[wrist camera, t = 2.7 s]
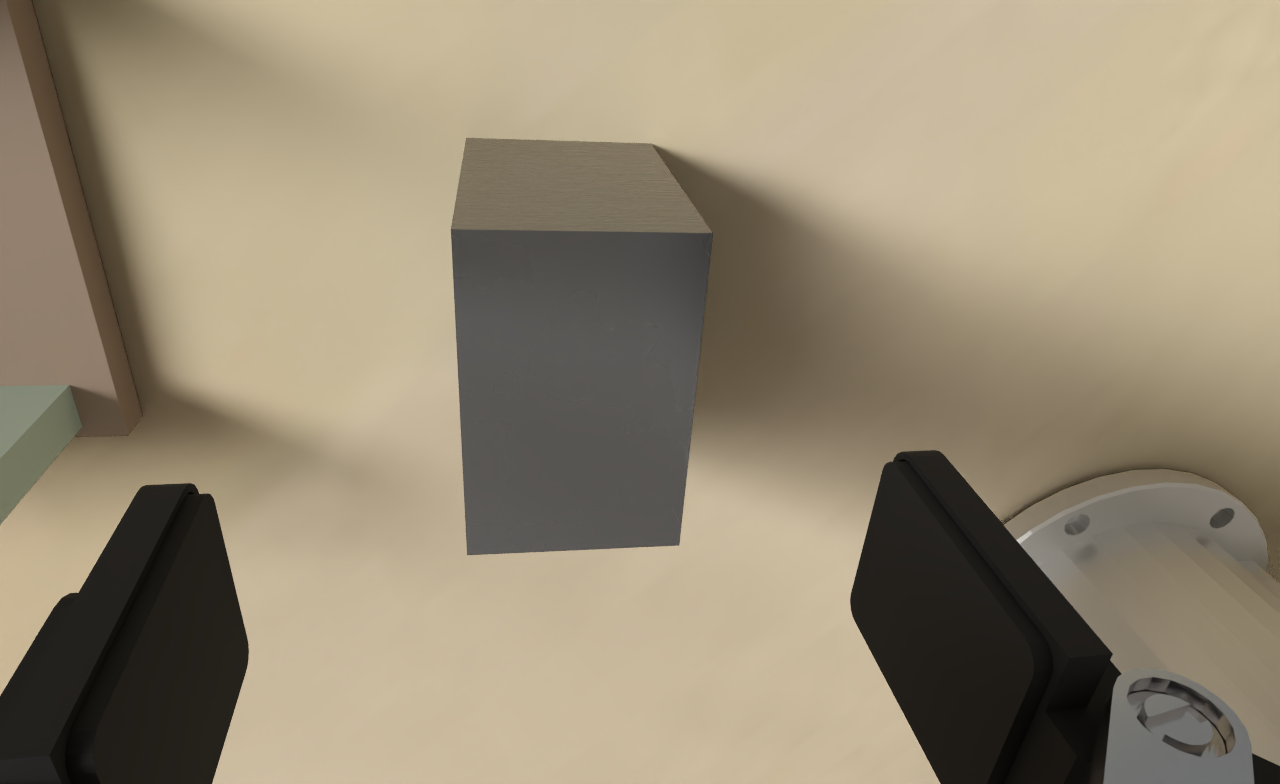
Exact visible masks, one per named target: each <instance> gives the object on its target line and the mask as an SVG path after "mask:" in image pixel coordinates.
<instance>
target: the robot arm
mask: <svg viewBox="0 0 1280 784" xmlns="http://www.w3.org/2000/svg"><path fill="white" fill-rule="evenodd" d="M1267 566H1268V551H1267V541H1266V537H1265V535H1264V532H1263V530H1262V528H1261V525H1260V523H1259V521H1258V519H1257V518H1256V517H1255V516H1254V514H1253V513H1252V512H1251V511H1250V510H1249V509H1248V508H1247V507H1246V506H1245V505H1244V504H1243V503H1242V502H1241V501H1240V500H1238V499H1237V498H1236V497H1234V496H1233V495H1232V494H1230V493H1229V492H1227V491H1226V490H1225V489H1223V488H1222V487H1221V486H1219V485H1218V484H1217V483H1215V482H1213V481H1210V480H1208V479H1205V478H1203V477H1200V476H1198V475H1195V474H1193V473H1187V472H1181V471H1175V470H1168V469H1149V470H1131V471H1126V472H1121V473H1116V474H1111V475H1106V476H1101V477H1097V478H1094V479H1091V480H1089V481H1086V482H1083V483H1080V484H1077V485H1074V486H1072V487H1069V488H1066V489H1063V490H1061V491H1059V492H1057V493H1055V494H1053V495H1051V496H1049V497H1048V498H1046V499H1044V500H1042V501H1040V502H1038V503H1036V504H1034V505H1032V506H1030V507H1029V508H1027V509H1026V510H1024V511H1023V512H1021V513H1020V514H1019V515H1017V516H1016V517H1014V518H1013V519H1011V520H1010V521H1008V522H1007V523H1005V524H1004V525H1003V524H1002V523H1001V522H1000V520H999V519H998V518H997V517H996V516H995V515H994V513H993V512H992V511H991V510H990V509H989V508H988V506H987V505H986V504H985V503H984V502H983V500H982V499H981V498H980V497H979V496H978V495H977V493H976V492H975V491H974V490H973V489H972V488H971V486H970V485H969V484H968V483H967V482H966V480H965V479H964V478H963V477H962V476H961V475H960V473H959V472H958V471H957V470H956V469H955V468H954V466H953V465H952V464H951V463H950V462H949V460H948V459H947V458H946V457H945V456H944V455H943V454H942V453H941V452H940V451H935V450H931V451H908V452H900V453H898V454H897V455H896V457H895V458H894V461H893V462H888V463H887V464H886V465H885V466H884V468H883V471H882V475H881V479H880V483H879V487H878V491H877V495H876V498H875V502H874V506H873V510H872V514H871V518H870V522H869V526H868V530H867V534H866V538H865V542H864V545H863V549H862V553H861V557H860V561H859V565H858V569H857V573H856V577H855V581H854V585H853V588H852V592H851V598H850V603H851V611H852V615H853V618H854V620H855V622H856V624H857V626H858V628H859V630H860V632H861V634H862V636H863V637H864V639H865V641H866V643H867V645H868V647H869V649H870V651H871V653H872V655H873V656H874V658H875V660H876V662H877V664H878V666H879V668H880V670H881V672H882V673H883V675H884V677H885V679H886V681H887V683H888V685H889V687H890V689H891V690H892V692H893V694H894V696H895V698H896V700H897V702H898V704H899V706H900V708H901V709H902V711H903V713H904V715H905V717H906V719H907V721H908V723H909V725H910V726H911V728H912V730H913V732H914V734H915V736H916V738H917V740H918V742H919V744H920V745H921V747H922V749H923V751H924V753H925V755H926V757H927V759H928V761H929V762H930V764H931V766H932V768H933V770H934V772H935V774H936V776H937V778H938V779H939V781H940V783H941V784H1280V583H1279V582H1278V581H1277V580H1275V579H1274V578H1273V577H1272V576H1271V575H1270V574H1268V573H1267ZM248 654H249V649H248V640H247V635H246V631H245V627H244V623H243V619H242V615H241V610H240V606H239V602H238V598H237V594H236V589H235V585H234V581H233V577H232V573H231V569H230V564H229V560H228V556H227V552H226V548H225V544H224V539H223V535H222V531H221V527H220V523H219V518H218V514H217V510H216V506H215V502H214V499H213V497H212V496H211V495H210V494H199V492H198V489H197V488H196V486H195V485H194V484H191V483H186V484H164V485H145V486H143V487H141V488H140V489H139V491H138V492H137V494H136V495H135V497H134V499H133V500H132V502H131V504H130V506H129V507H128V509H127V511H126V512H125V514H124V516H123V518H122V519H121V521H120V523H119V524H118V526H117V528H116V530H115V531H114V533H113V535H112V536H111V538H110V540H109V542H108V543H107V545H106V547H105V548H104V550H103V552H102V554H101V555H100V557H99V559H98V560H97V562H96V564H95V566H94V567H93V569H92V571H91V572H90V574H89V576H88V578H87V579H86V581H85V583H84V584H83V586H82V588H81V590H80V591H79V593H70V594H68V595H66V596H64V597H63V598H61V600H60V601H59V602H58V603H57V605H56V606H55V607H54V608H53V610H52V612H51V613H50V615H49V617H48V618H47V620H46V622H45V623H44V625H43V627H42V628H41V630H40V631H39V633H38V635H37V636H36V638H35V640H34V641H33V643H32V645H31V646H30V648H29V650H28V651H27V653H26V655H25V656H24V658H23V660H22V661H21V663H20V664H19V666H18V668H17V669H16V671H15V673H14V674H13V676H12V678H11V679H10V681H9V683H8V684H7V686H6V688H5V689H4V691H3V693H2V694H1V696H0V784H212V782H213V778H214V775H215V772H216V768H217V765H218V762H219V759H220V755H221V752H222V749H223V745H224V742H225V739H226V736H227V732H228V729H229V726H230V722H231V719H232V716H233V713H234V709H235V706H236V703H237V699H238V696H239V693H240V690H241V686H242V683H243V680H244V676H245V673H246V669H247V665H248Z"/></svg>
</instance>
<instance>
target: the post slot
mask: <svg viewBox="0 0 1280 784" xmlns="http://www.w3.org/2000/svg"><path fill="white" fill-rule="evenodd" d="M142 416H143V415H142V412H141V408H140V404H139V400H138V397H137V393H136V389H135V386H134V382H133V378H132V374H131V371H130V367H129V363H128V359H127V356H126V352H125V348H124V344H123V341H122V337H121V333H120V329H119V326H118V322H117V318H116V314H115V311H114V307H113V303H112V299H111V296H110V292H109V288H108V284H107V281H106V277H105V273H104V269H103V266H102V262H101V258H100V254H99V251H98V247H97V243H96V239H95V236H94V232H93V228H92V225H91V221H90V217H89V213H88V210H87V206H86V202H85V198H84V195H83V191H82V187H81V183H80V180H79V176H78V172H77V168H76V165H75V161H74V157H73V153H72V150H71V146H70V142H69V138H68V135H67V131H66V127H65V123H64V120H63V116H62V112H61V108H60V105H59V101H58V97H57V93H56V90H55V86H54V82H53V79H52V75H51V71H50V67H49V64H48V60H47V56H46V52H45V49H44V45H43V41H42V37H41V34H40V30H39V26H38V22H37V19H36V15H35V11H34V7H33V4H32V0H0V525H1V523H2V522H3V521H4V520H5V519H6V517H7V516H8V515H9V514H10V513H11V511H12V510H13V509H14V508H15V507H16V505H17V504H18V503H19V502H20V501H21V499H22V498H23V497H24V496H25V495H26V493H27V492H28V491H29V490H30V489H31V487H32V486H33V485H34V484H35V483H36V481H37V480H38V479H39V478H40V477H41V475H42V474H43V473H44V472H45V471H46V469H47V468H48V467H49V466H50V465H51V463H52V462H53V461H54V460H55V459H56V458H57V456H58V455H59V454H60V453H61V452H62V450H63V449H64V448H65V447H66V446H67V444H68V443H69V442H70V441H71V440H72V438H73V437H95V436H128V435H129V434H130V432H131V431H132V430H133V428H134V427H135V425H136V424H137V423H138V421H139V420H140V419H141V417H142Z"/></svg>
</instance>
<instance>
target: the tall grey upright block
mask: <svg viewBox="0 0 1280 784" xmlns="http://www.w3.org/2000/svg"><path fill="white" fill-rule="evenodd" d="M712 236H713V233H712V231H711V230H710V228H709V227H708V225H707V224H706V222H705V221H704V220H703V218H702V217H701V215H700V214H699V212H698V211H697V209H696V208H695V206H694V205H693V204H692V202H691V201H690V199H689V198H688V196H687V195H686V193H685V192H684V191H683V189H682V188H681V186H680V185H679V183H678V182H677V180H676V179H675V178H674V176H673V175H672V173H671V172H670V170H669V169H668V167H667V166H666V165H665V163H664V162H663V160H662V159H661V157H660V156H659V154H658V153H657V151H656V150H655V149H654V147H653V146H652V144H645V143H613V142H580V141H548V140H516V139H483V138H466V143H465V149H464V155H463V161H462V167H461V173H460V179H459V185H458V191H457V197H456V202H455V208H454V214H453V220H452V226H451V239H452V259H453V279H454V299H455V319H456V339H457V359H458V379H459V399H460V419H461V439H462V459H463V480H464V500H465V520H466V540H467V555H481V554H503V553H524V552H546V551H568V550H589V549H611V548H633V547H654V546H676V545H679V542H680V533H681V523H682V514H683V505H684V496H685V486H686V477H687V468H688V459H689V449H690V440H691V431H692V421H693V412H694V403H695V394H696V384H697V375H698V366H699V357H700V347H701V338H702V329H703V320H704V310H705V301H706V292H707V282H708V273H709V264H710V255H711V245H712Z"/></svg>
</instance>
